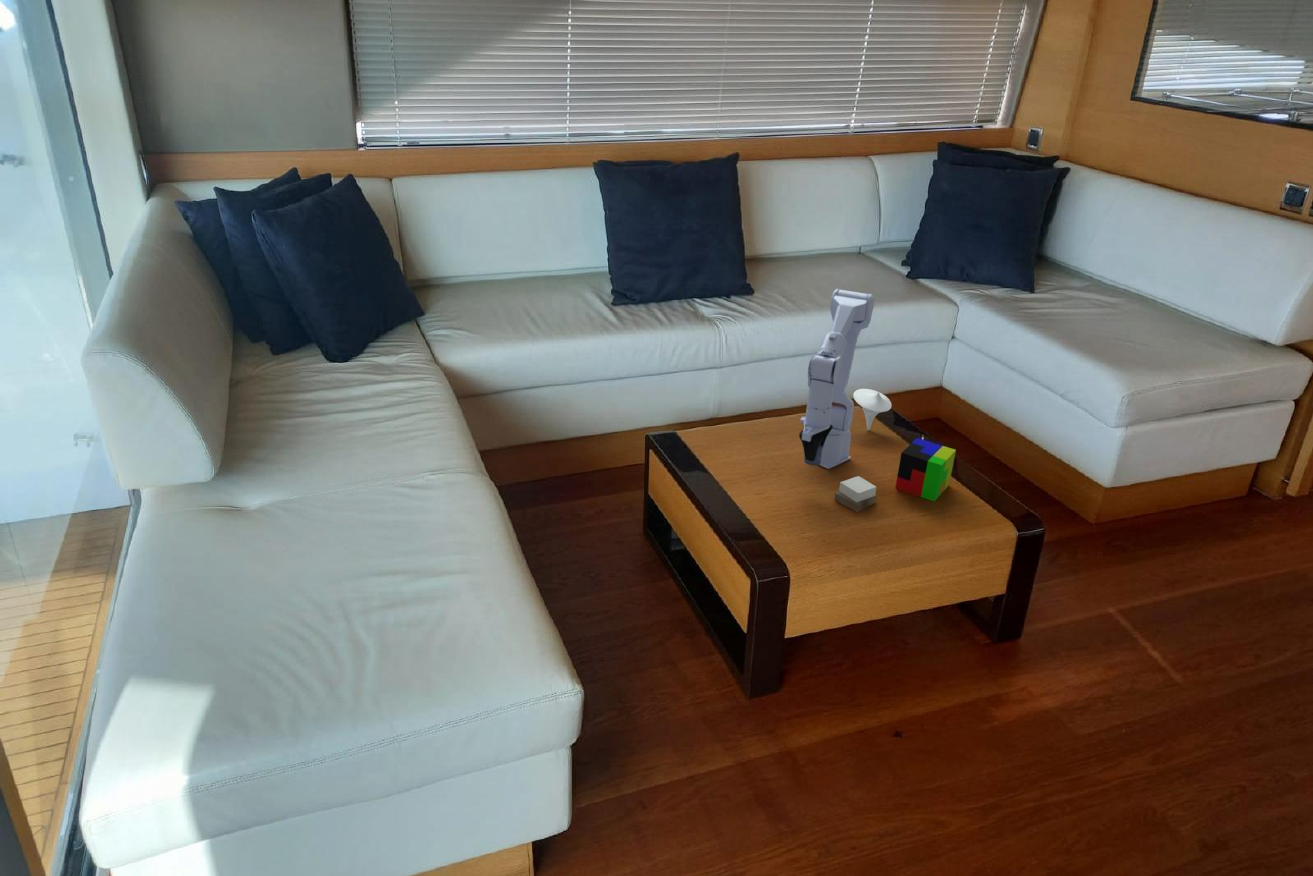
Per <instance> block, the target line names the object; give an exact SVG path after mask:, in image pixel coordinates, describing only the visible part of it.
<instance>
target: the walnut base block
mask: <svg viewBox="0 0 1313 876" xmlns="http://www.w3.org/2000/svg"><path fill="white" fill-rule="evenodd" d="M877 498H878V495H877V494H875V496H873V497H871V498H868V499H865V500H862V501H860V502H855V501H854V500H852V499H850V498H849V497H847V496H846V495H844V494H842V493H841V492H839V490H838V491H836V492H834V497H833V500H834V501H835V502H837V503H839V504H841V505H842V506H845V507H847V508H849V509H850V508H851V510H852V511H855V512H856V513H859V512H862V510H864V509H867V508H868V507H870V506H873V505H874V504H876V503H877Z"/></svg>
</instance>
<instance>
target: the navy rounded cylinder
mask: <svg viewBox="0 0 1313 876" xmlns="http://www.w3.org/2000/svg"><path fill="white" fill-rule="evenodd" d="M822 449H823V447H822V446H821V445H819V447H818V450H817V454H816V457H815V460H814V461H809V460H806V459H805V455H804V459H803V462H804V463H805V464H806V465H809V466H820V465H819V464H820V463H821V456H822Z"/></svg>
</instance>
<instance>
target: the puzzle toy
mask: <svg viewBox="0 0 1313 876" xmlns="http://www.w3.org/2000/svg"><path fill="white" fill-rule="evenodd" d="M956 451H957V450H956V449H954V448H951V447H948V446H944V445H940V444H937V443H934V442H931V441H928V440H924V439H921V438H915V439H914V440H913V441H912V442H911V443H910V444H909V445H908V446H907V447H906V448H905V449H903V451H902V452H901V453H900V459H899V466H898V470H897V475H896V476H897V477H896V483H895V488H894V489H896V490H899V491H903V492H905V493H909V494H911V495H913V496H918V497H920V498H924V499H927V500H929V501H932V502H936V500H937V499H938V498H939V497H940V496H941V495H942V494H943V493H944V491H945V490H946V489H947V488H948V487H949V485H950V481H951V477H952V471H953V467H954V463H955V462H954V461H955V457H956V454H957V453H956Z"/></svg>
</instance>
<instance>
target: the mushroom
mask: <svg viewBox="0 0 1313 876" xmlns="http://www.w3.org/2000/svg"><path fill="white" fill-rule="evenodd" d="M852 396H853V399H854V401H855V403H857V404H858V405H859V406H860V407H862V408H861V409H863V413H864V416H865V417H864V418H865V420H866V421H865V423H866V429H867V431H870V430H871V426H872V424H873V421H874V419H875V418H876V417H877V415H878V414H880V413H885V412H889V410H890V409H892V402H891V400H890V399H889V398H888V396H886V395H885V394H883V393H881V392H879V391H877V390H874V389H870V388H859V389H857V390H855V391H854V392H853V395H852Z"/></svg>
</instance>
